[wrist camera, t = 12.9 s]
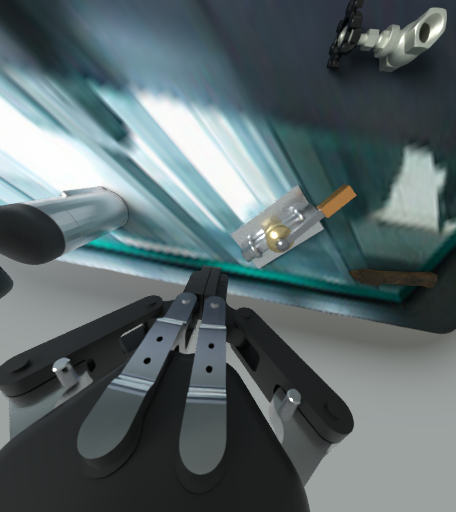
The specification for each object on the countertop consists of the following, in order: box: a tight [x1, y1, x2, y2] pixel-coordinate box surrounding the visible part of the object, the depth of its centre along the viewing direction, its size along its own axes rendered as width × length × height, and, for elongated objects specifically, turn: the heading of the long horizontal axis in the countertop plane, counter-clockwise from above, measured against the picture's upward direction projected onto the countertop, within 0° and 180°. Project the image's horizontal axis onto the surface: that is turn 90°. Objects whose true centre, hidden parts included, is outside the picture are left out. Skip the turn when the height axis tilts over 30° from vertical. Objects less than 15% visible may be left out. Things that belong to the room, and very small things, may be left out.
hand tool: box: [349, 269, 437, 288], centre depth 43 cm, size 19×4×5 cm, turn 86°
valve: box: [327, 0, 447, 72], centre depth 25 cm, size 7×7×12 cm
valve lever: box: [276, 185, 356, 252], centre depth 31 cm, size 15×2×2 cm, turn 137°
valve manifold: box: [231, 185, 324, 269], centre depth 38 cm, size 12×18×8 cm, turn 129°
